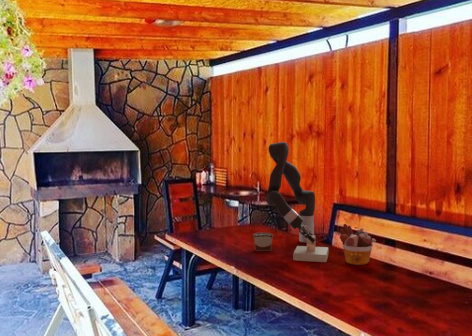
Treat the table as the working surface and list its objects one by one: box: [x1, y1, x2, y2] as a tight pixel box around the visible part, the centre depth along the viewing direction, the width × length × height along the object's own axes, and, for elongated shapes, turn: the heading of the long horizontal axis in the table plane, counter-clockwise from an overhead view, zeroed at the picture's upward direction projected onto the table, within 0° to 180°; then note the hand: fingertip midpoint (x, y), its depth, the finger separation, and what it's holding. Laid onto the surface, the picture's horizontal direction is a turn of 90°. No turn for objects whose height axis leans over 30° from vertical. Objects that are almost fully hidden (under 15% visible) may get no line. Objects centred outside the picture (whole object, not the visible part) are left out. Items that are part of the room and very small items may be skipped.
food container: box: [252, 232, 274, 252], centre depth 291 cm, size 12×6×10 cm, turn 84°
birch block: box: [306, 234, 316, 251], centre depth 271 cm, size 4×4×8 cm
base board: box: [292, 245, 329, 263], centre depth 272 cm, size 18×18×4 cm
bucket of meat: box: [339, 223, 377, 266], centre depth 259 cm, size 20×16×20 cm
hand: (314, 240), depth 271 cm, fingers open, 5 cm apart
